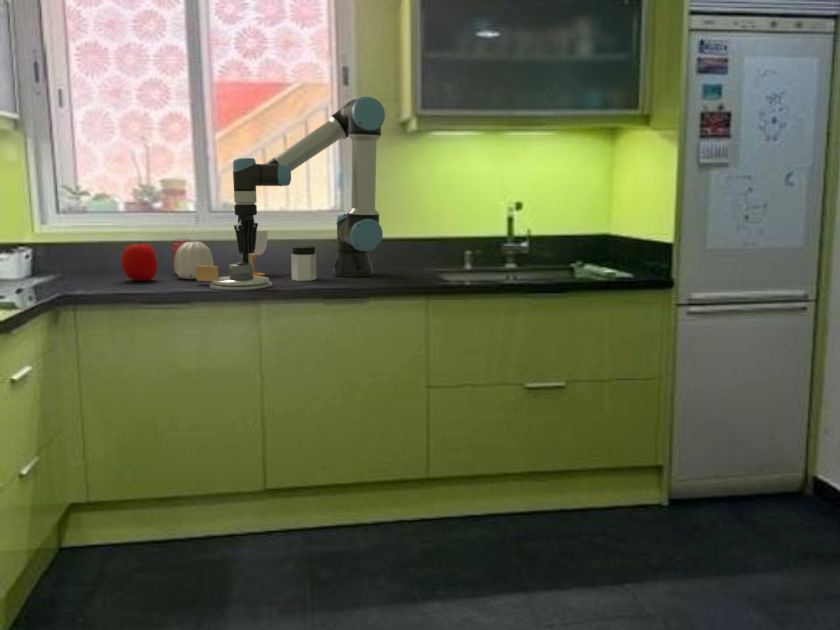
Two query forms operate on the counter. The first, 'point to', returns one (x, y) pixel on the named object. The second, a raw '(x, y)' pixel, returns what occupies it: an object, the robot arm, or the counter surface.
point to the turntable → (212, 275)
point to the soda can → (177, 244)
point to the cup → (259, 247)
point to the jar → (303, 263)
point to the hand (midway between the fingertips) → (247, 271)
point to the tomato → (139, 262)
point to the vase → (191, 259)
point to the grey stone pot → (241, 271)
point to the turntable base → (239, 287)
